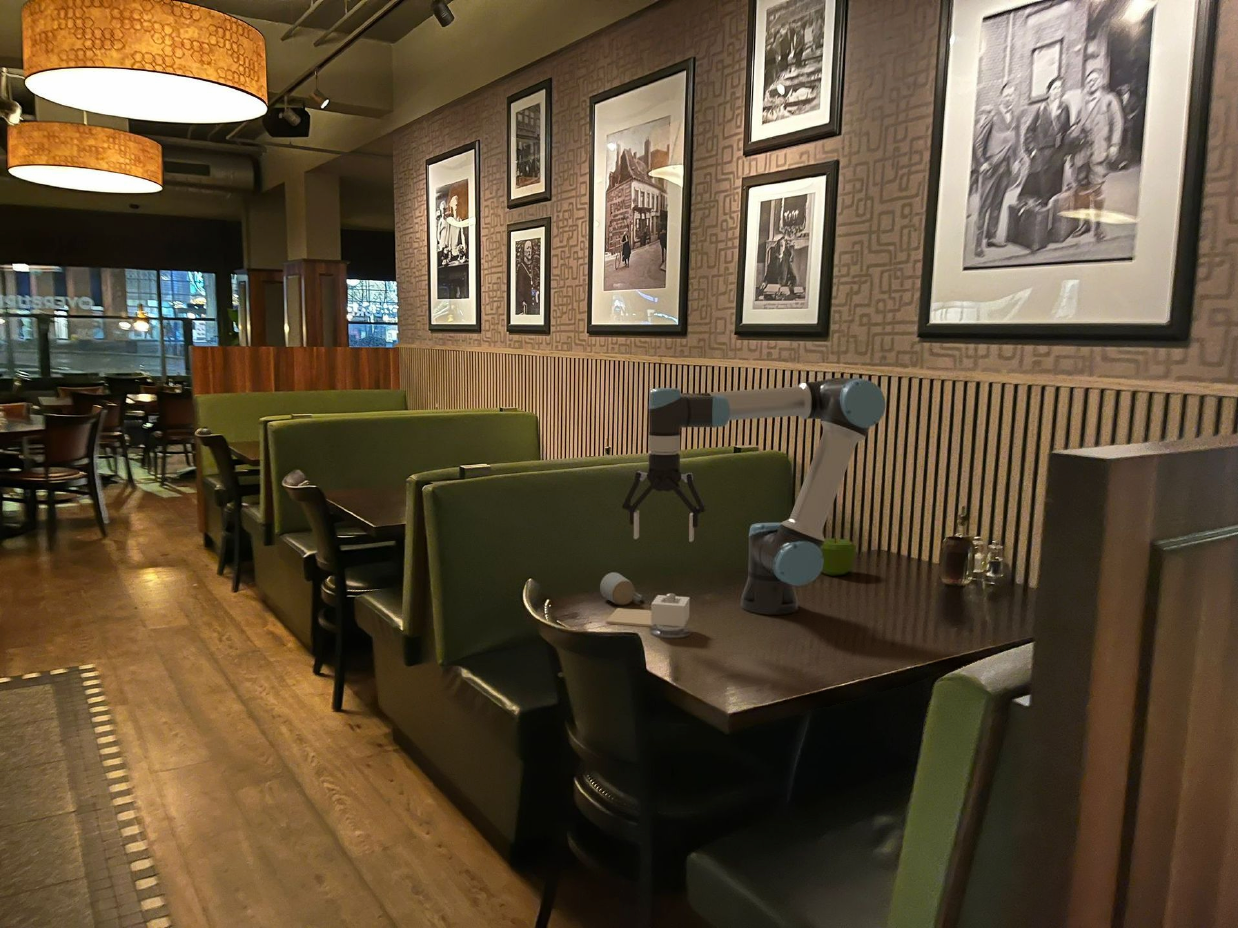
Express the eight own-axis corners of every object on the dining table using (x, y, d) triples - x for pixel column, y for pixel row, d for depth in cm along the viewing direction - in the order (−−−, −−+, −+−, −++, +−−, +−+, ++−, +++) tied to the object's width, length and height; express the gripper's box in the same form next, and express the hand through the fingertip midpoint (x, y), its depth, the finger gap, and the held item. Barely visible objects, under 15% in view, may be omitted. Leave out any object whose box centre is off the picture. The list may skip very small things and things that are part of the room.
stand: (693, 627, 222) (694, 590, 221) (687, 640, 213) (687, 601, 211) (654, 624, 225) (654, 587, 223) (646, 636, 215) (646, 598, 214)
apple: (859, 578, 272) (860, 542, 270) (818, 578, 272) (820, 541, 270) (849, 568, 284) (850, 533, 283) (810, 568, 284) (811, 533, 283)
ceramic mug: (613, 608, 239) (613, 580, 238) (599, 600, 246) (599, 573, 245) (647, 603, 244) (648, 576, 243) (632, 596, 251) (633, 569, 250)
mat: (661, 613, 234) (661, 611, 234) (652, 626, 223) (652, 624, 223) (617, 610, 237) (617, 607, 237) (606, 623, 225) (606, 620, 225)
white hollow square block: (689, 616, 221) (689, 597, 220) (683, 626, 213) (684, 606, 213) (657, 614, 223) (657, 594, 222) (651, 623, 215) (651, 603, 215)
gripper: (717, 452, 216) (716, 538, 218) (617, 449, 221) (617, 533, 224) (714, 455, 208) (713, 544, 211) (610, 453, 214) (610, 539, 216)
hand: (663, 539), depth 217 cm, fingers open, 13 cm apart
